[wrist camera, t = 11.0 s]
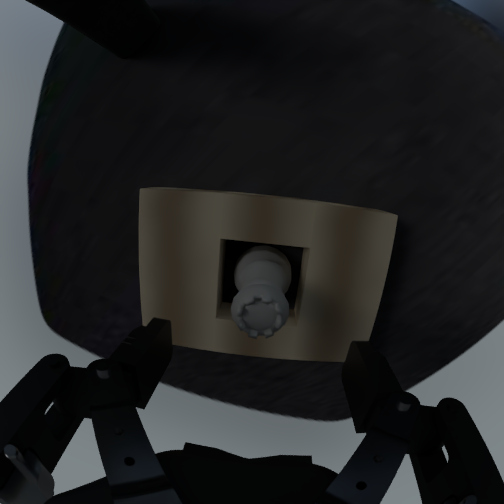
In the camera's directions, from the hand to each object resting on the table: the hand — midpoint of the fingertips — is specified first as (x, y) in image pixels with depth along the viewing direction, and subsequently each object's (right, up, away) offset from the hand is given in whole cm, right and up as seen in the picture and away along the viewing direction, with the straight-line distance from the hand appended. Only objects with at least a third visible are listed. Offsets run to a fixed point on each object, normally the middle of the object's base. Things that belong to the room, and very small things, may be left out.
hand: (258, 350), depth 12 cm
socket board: (+1, +3, +11) cm, 11 cm away
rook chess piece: (+1, +3, +11) cm, 11 cm away
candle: (-11, +24, +6) cm, 28 cm away
